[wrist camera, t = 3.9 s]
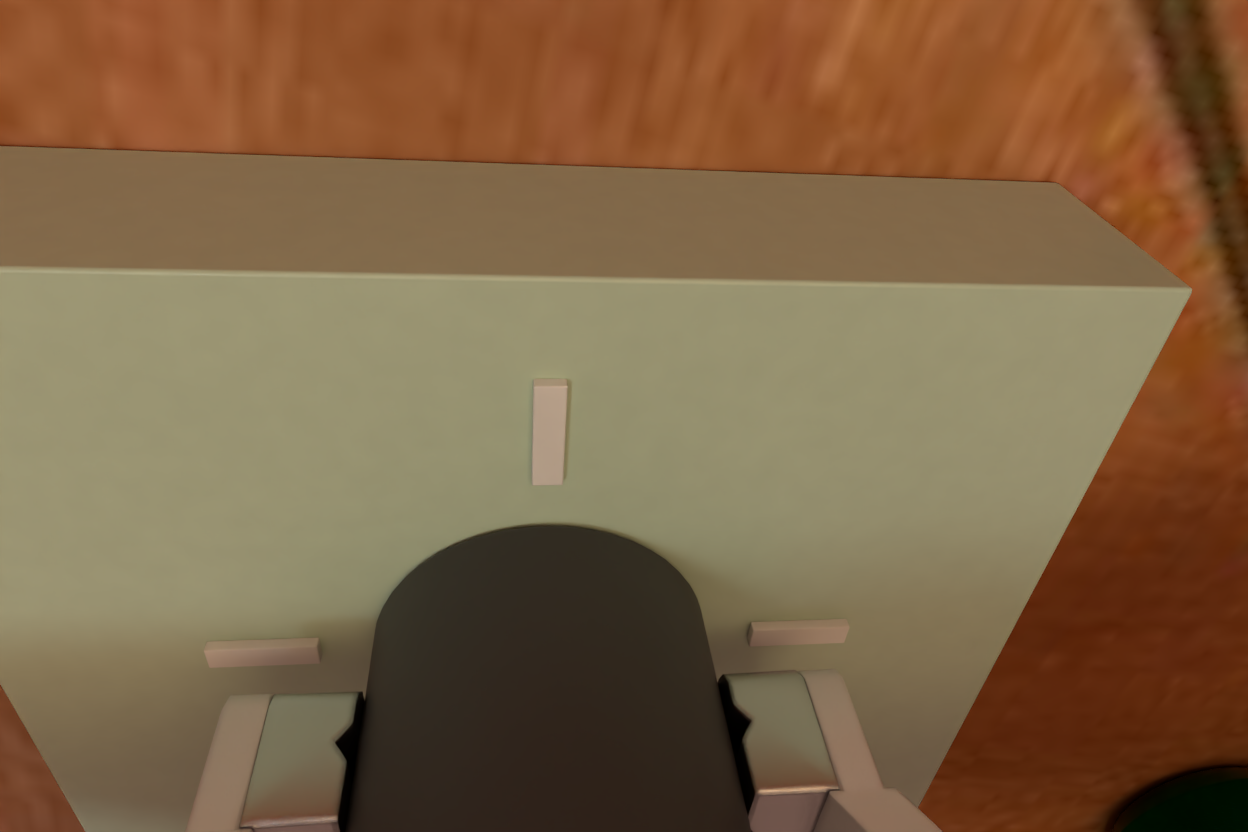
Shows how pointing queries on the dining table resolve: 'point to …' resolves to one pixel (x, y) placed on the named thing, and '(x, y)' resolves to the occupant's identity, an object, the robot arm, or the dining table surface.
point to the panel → (529, 422)
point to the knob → (544, 695)
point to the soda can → (1192, 804)
